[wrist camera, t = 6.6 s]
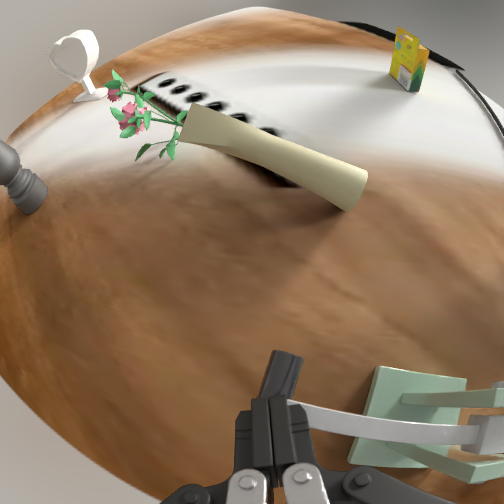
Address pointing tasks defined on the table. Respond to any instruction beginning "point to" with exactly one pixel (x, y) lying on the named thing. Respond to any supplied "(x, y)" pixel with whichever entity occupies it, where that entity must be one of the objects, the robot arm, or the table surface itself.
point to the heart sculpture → (77, 61)
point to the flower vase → (246, 146)
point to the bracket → (428, 411)
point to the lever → (467, 435)
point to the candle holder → (20, 181)
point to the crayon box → (408, 61)
